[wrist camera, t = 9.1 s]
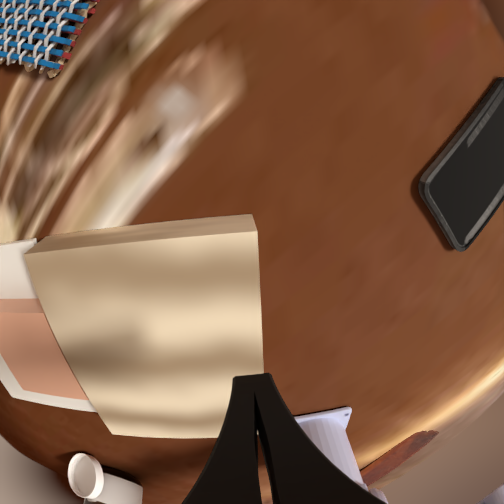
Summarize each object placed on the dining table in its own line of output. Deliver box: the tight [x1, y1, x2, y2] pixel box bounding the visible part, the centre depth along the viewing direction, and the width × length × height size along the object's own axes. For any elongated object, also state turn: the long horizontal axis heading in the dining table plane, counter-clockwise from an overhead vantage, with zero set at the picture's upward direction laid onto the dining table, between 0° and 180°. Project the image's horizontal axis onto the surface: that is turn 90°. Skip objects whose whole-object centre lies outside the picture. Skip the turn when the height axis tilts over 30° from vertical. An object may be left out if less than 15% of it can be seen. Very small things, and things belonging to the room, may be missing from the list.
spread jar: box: [68, 453, 143, 504], centre depth 25 cm, size 12×11×12 cm
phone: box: [418, 77, 504, 252], centre depth 17 cm, size 8×1×15 cm
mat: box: [0, 238, 97, 412], centre depth 20 cm, size 18×14×1 cm
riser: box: [24, 214, 264, 438], centre depth 19 cm, size 18×14×3 cm
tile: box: [0, 298, 89, 400], centre depth 19 cm, size 9×8×2 cm
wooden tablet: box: [360, 430, 439, 486], centre depth 37 cm, size 27×10×2 cm, turn 146°
